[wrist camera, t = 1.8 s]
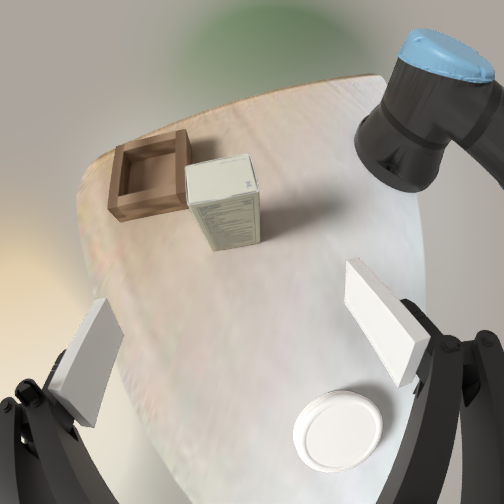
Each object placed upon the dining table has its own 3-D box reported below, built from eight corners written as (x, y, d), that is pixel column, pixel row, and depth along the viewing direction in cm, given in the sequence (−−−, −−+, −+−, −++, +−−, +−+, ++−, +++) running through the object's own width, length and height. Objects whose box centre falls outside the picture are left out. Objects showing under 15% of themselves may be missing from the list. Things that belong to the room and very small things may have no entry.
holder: (191, 146, 39) (185, 129, 35) (194, 207, 35) (187, 191, 32) (125, 161, 39) (116, 146, 35) (120, 222, 35) (107, 209, 31)
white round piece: (334, 373, 28) (343, 376, 25) (387, 417, 26) (400, 423, 23) (274, 434, 26) (276, 444, 23) (332, 475, 24) (339, 486, 20)
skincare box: (254, 212, 35) (252, 151, 23) (261, 244, 33) (262, 191, 22) (205, 221, 35) (183, 163, 23) (210, 253, 33) (186, 205, 22)
